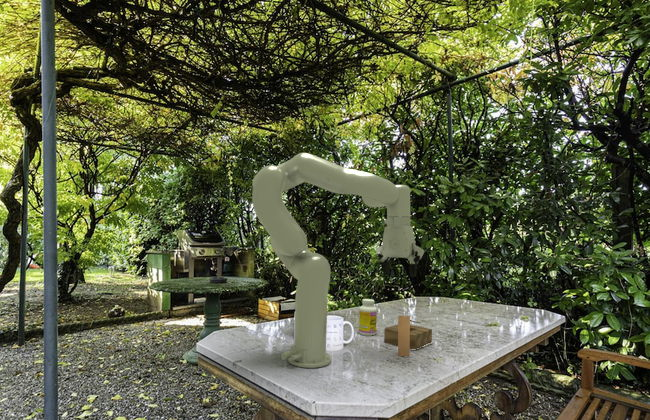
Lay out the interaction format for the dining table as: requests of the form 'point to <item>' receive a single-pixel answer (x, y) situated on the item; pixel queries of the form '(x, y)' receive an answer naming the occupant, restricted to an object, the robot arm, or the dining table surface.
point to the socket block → (417, 336)
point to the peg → (403, 335)
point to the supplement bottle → (367, 318)
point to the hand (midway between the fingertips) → (399, 275)
